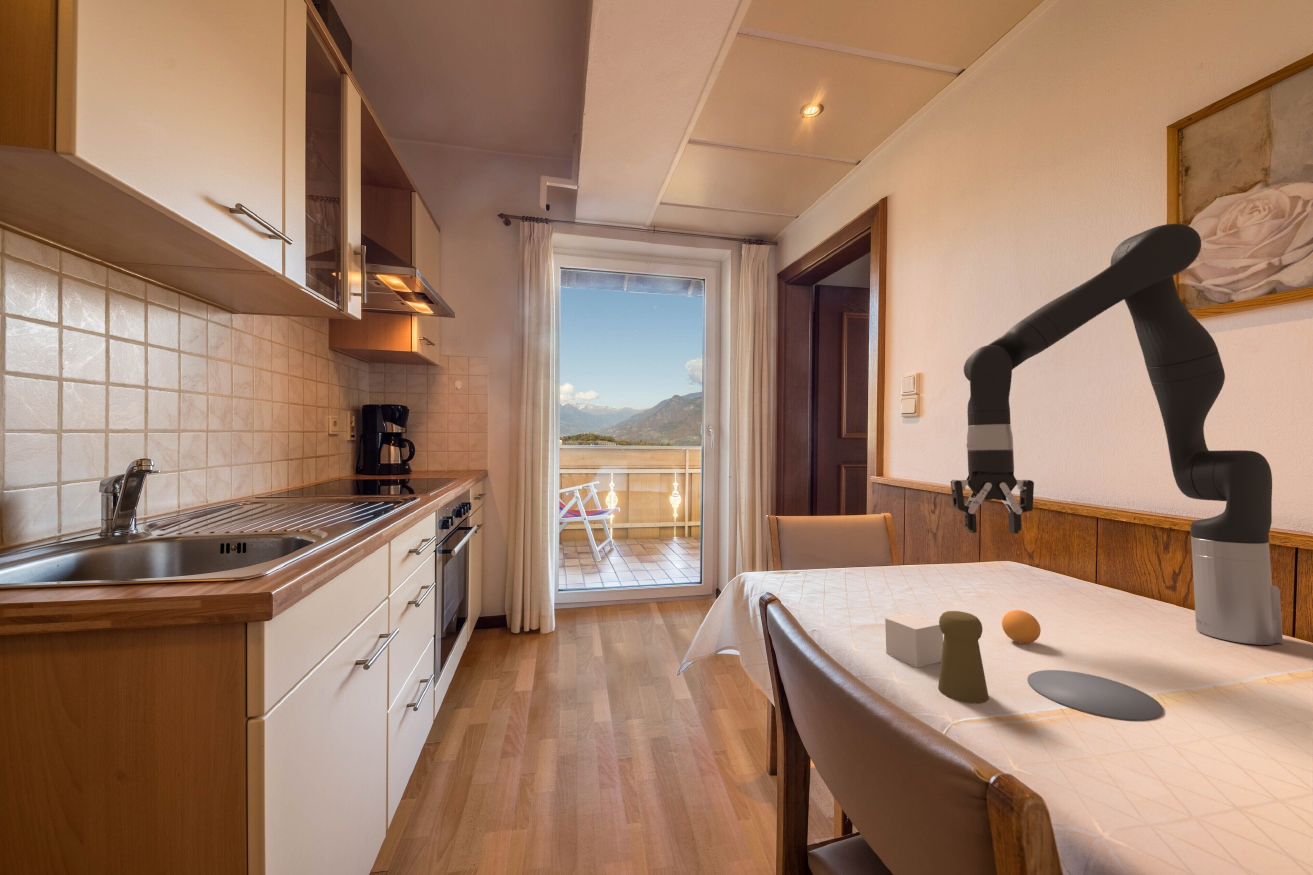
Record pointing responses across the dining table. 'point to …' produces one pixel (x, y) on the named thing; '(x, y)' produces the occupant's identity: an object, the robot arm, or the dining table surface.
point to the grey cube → (914, 639)
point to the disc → (1095, 695)
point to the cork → (962, 658)
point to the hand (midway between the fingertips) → (993, 532)
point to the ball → (1021, 626)
